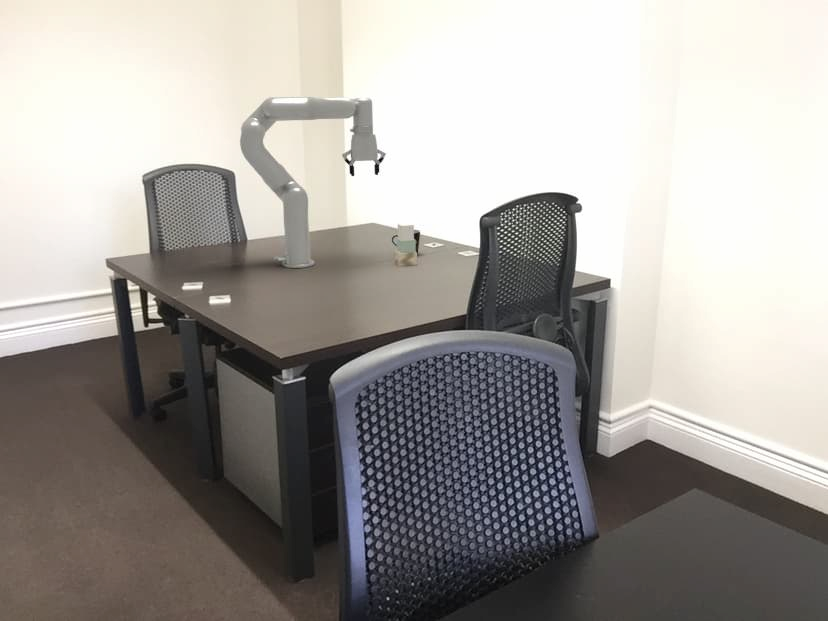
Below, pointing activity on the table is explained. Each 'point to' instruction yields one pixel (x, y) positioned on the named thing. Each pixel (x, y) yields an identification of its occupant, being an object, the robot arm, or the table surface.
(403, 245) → the tower mid
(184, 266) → the table surface
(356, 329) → the table surface
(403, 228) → the top block
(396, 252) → the tower base
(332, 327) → the table surface
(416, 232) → the coffee mug
